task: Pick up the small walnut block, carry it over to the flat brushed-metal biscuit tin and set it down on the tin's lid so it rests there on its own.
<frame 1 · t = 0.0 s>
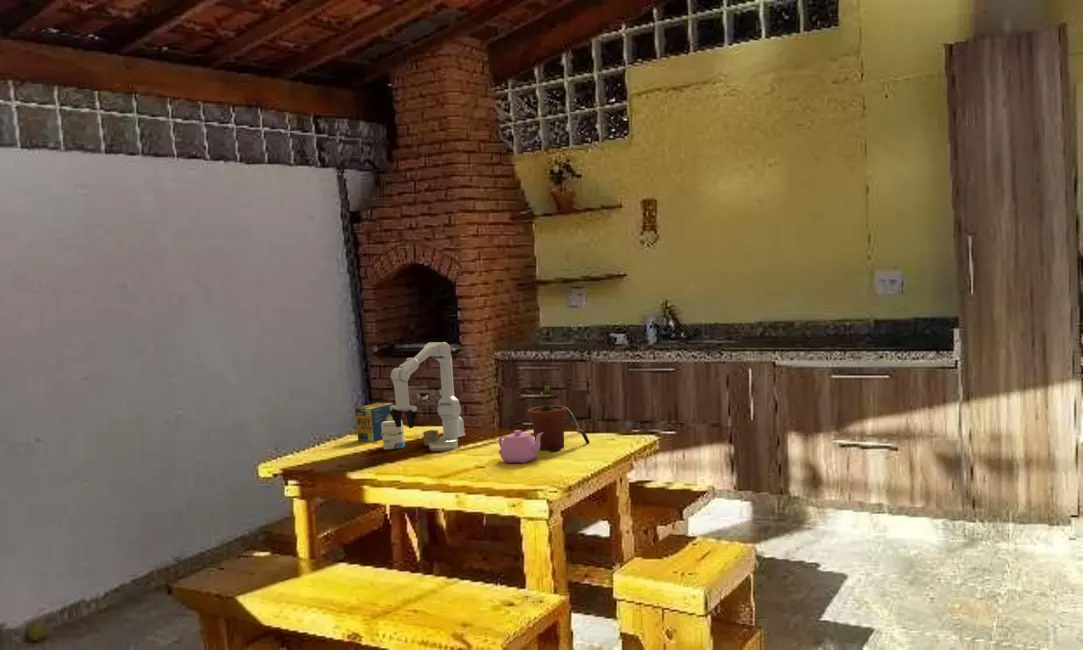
hand: (405, 427, 377), 10 cm above the table, fingers open, 7 cm apart
ink box: (394, 448, 387), on the table
walnut block: (431, 444, 387), on the table
protein box: (377, 438, 414), on the table
biscuit tin: (443, 448, 377), on the table
teapot: (522, 461, 340), on the table
potted plant: (557, 447, 359), on the table
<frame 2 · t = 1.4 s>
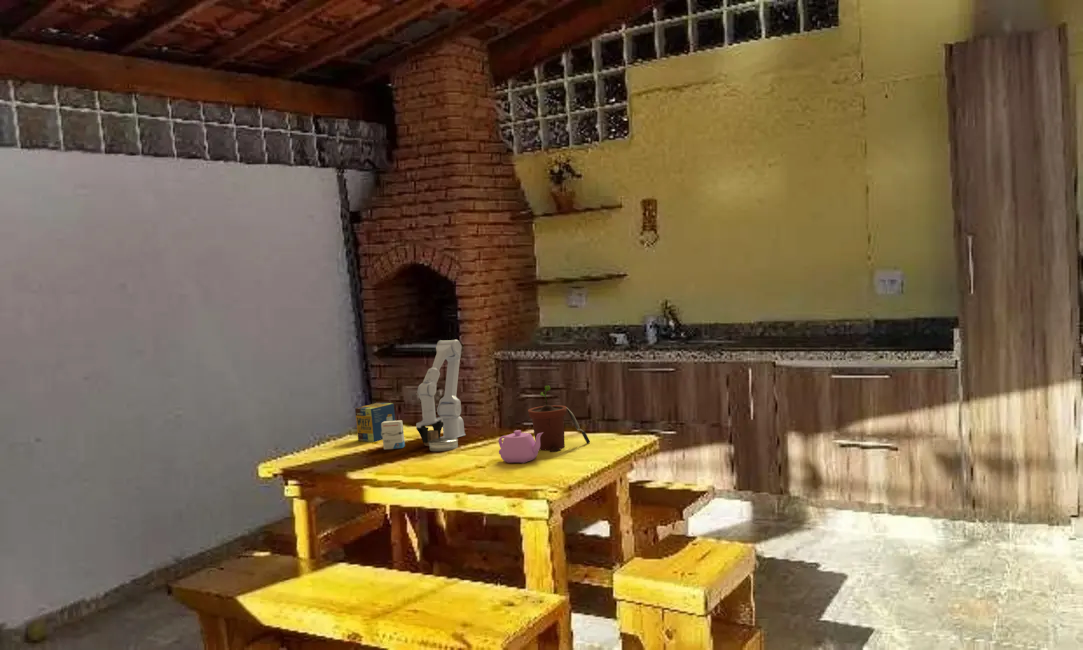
hand: (431, 440, 387), 2 cm above the table, fingers open, 7 cm apart
nothing on the table moved.
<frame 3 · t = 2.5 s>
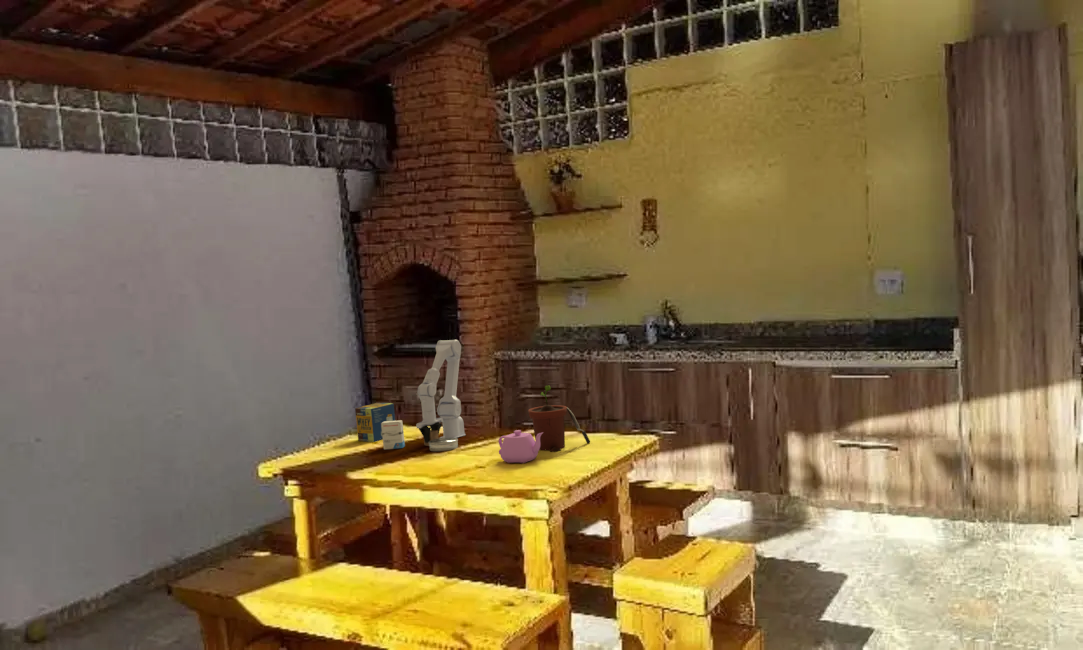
hand: (431, 441, 387), 1 cm above the table, fingers closed on walnut block, 4 cm apart
walnut block: (431, 444, 387), on the table, touching gripper
everything else where it was.
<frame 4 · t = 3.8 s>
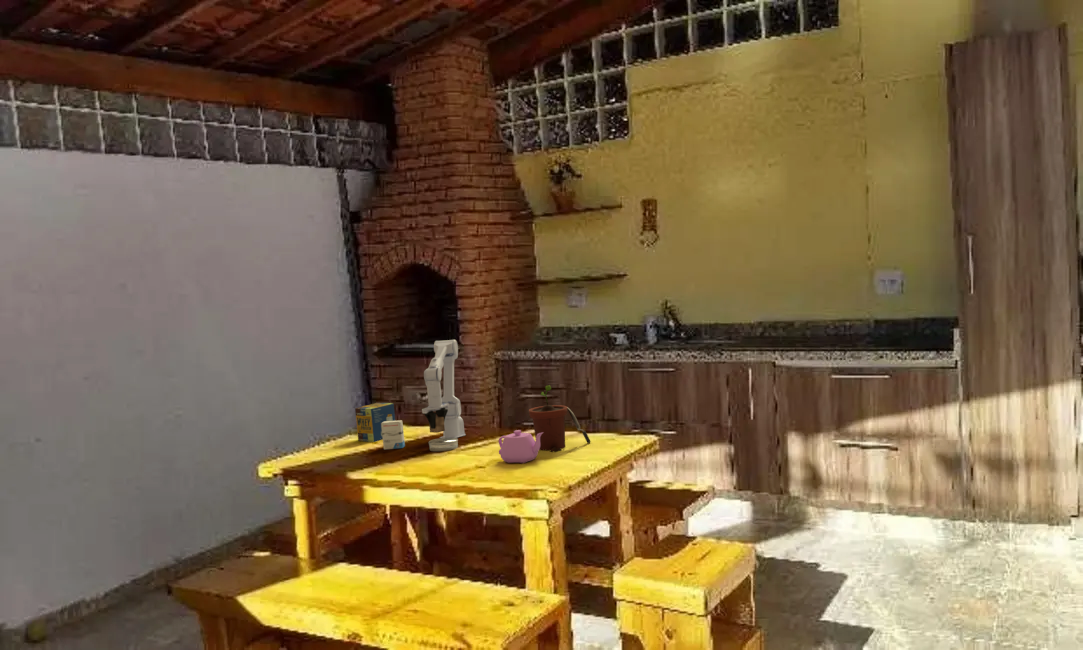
hand: (437, 427, 380), 9 cm above the table, fingers closed on walnut block, 4 cm apart
walnut block: (437, 431, 380), point 7 cm above the table, touching gripper
everything else where it was.
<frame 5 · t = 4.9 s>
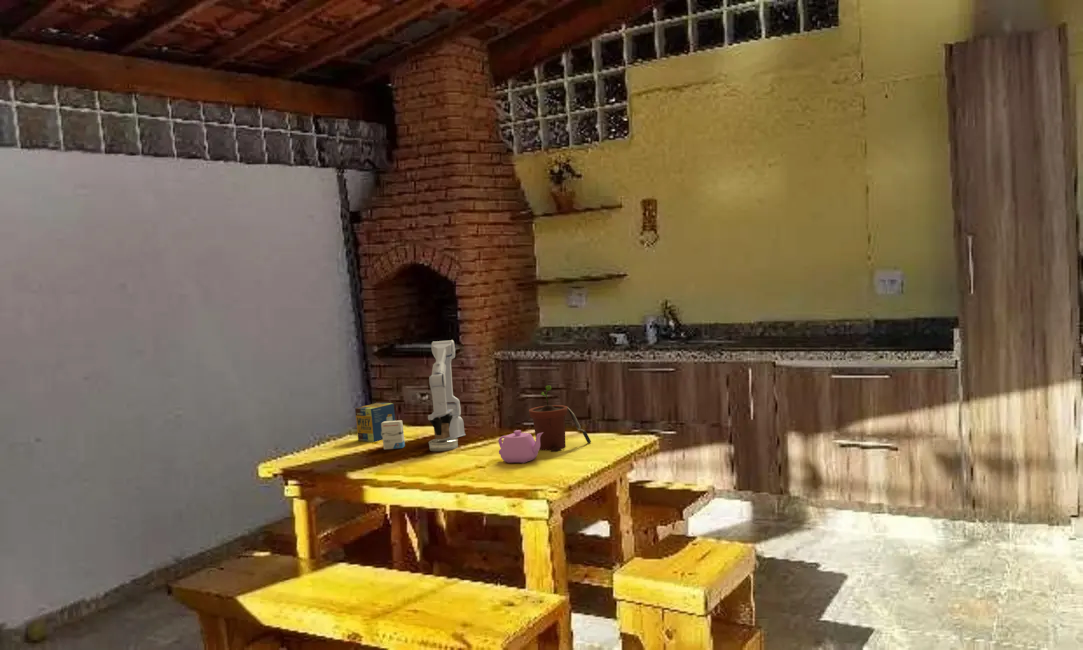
hand: (442, 433, 377), 6 cm above the table, fingers closed on walnut block, 4 cm apart
walnut block: (442, 437, 377), point 4 cm above the table, touching gripper
everything else where it was.
when the fingers open (6 cm above the table, at t = 5.3 s): walnut block drops 1 cm, resting on biscuit tin.
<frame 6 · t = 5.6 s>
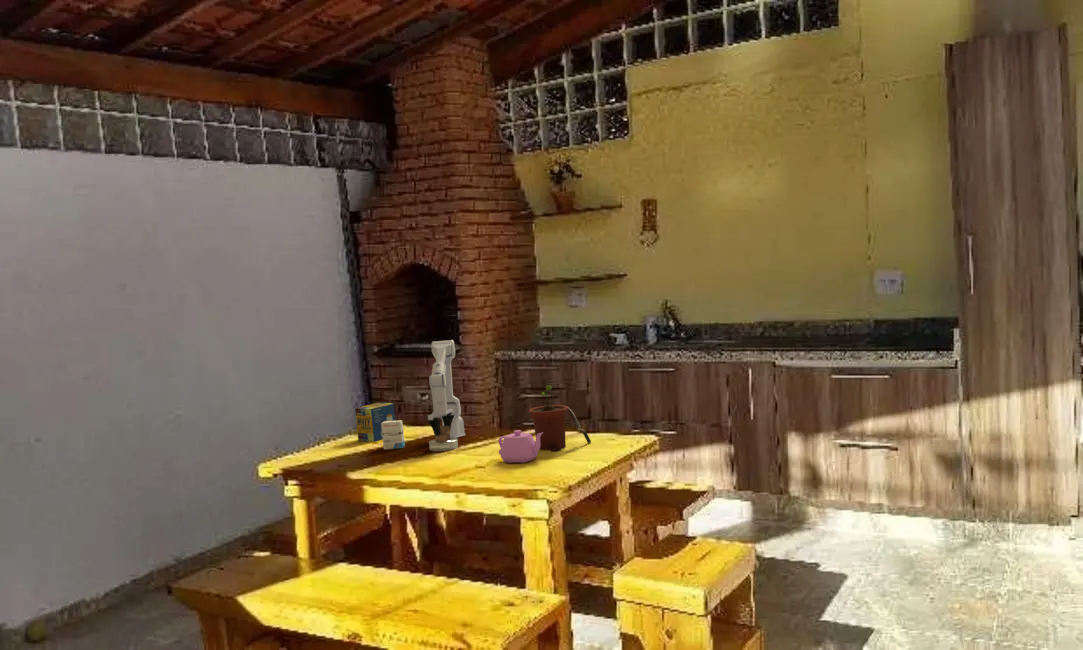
hand: (442, 433, 377), 6 cm above the table, fingers open, 7 cm apart
walnut block: (442, 440, 377), point 3 cm above the table, touching biscuit tin
biscuit tin: (443, 448, 377), on the table, touching walnut block
everything else where it was.
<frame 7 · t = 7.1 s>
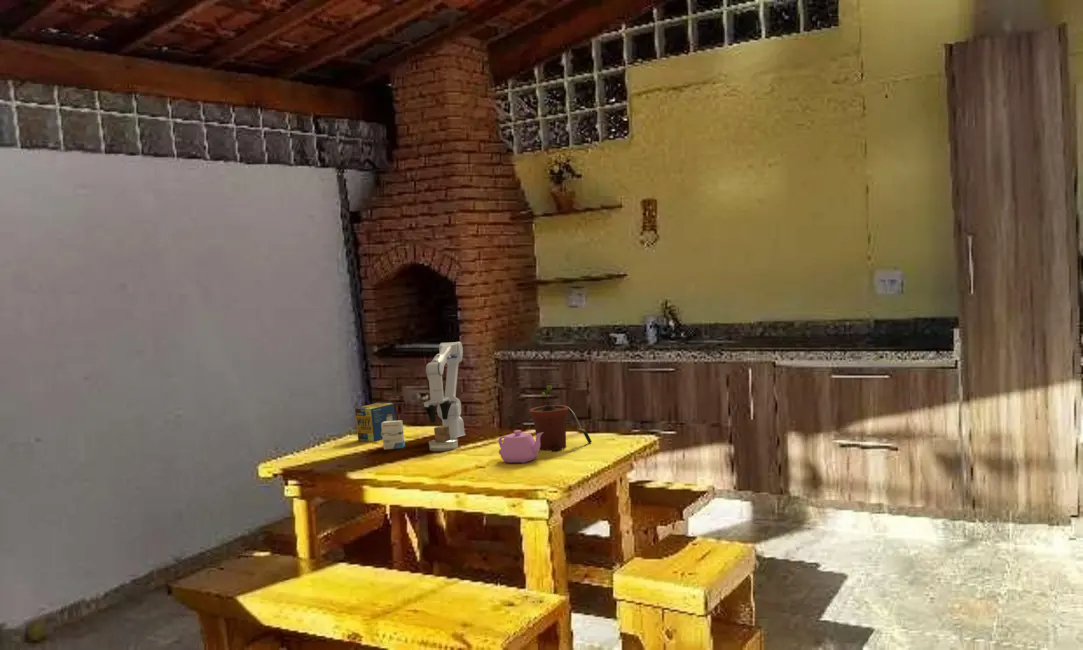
hand: (439, 420, 385), 10 cm above the table, fingers open, 7 cm apart
nothing on the table moved.
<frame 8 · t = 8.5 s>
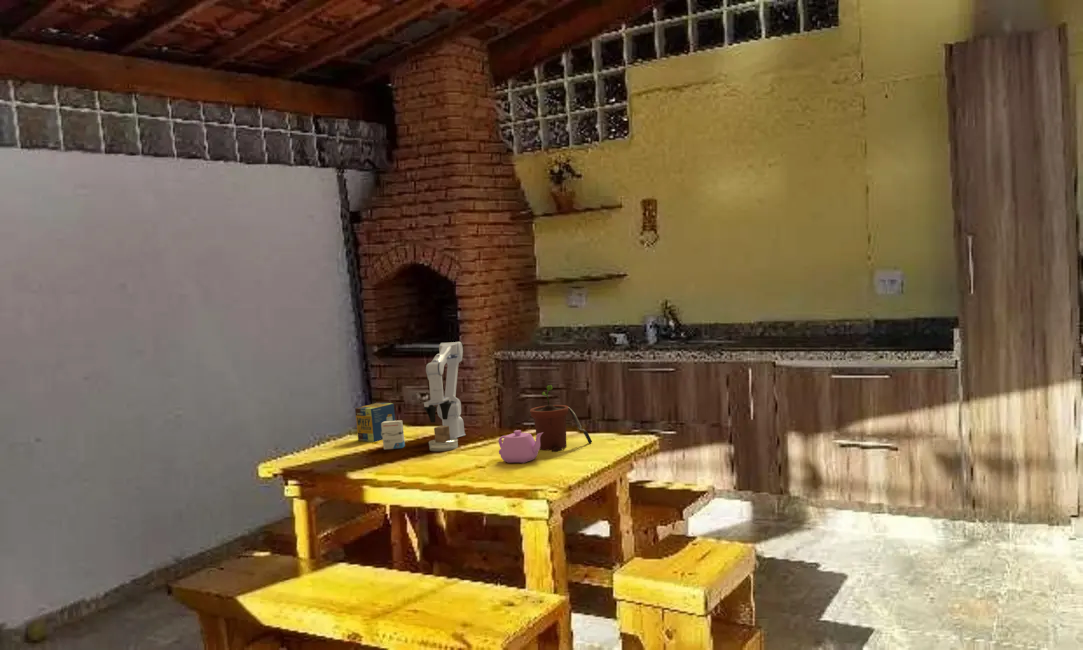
hand: (439, 420, 385), 10 cm above the table, fingers open, 7 cm apart
at the end: walnut block inside the target area on the biscuit tin (0.2 cm from its centre), point 3.5 cm above the biscuit tin's base; walnut block tilted 0°; the gripper is holding nothing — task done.
